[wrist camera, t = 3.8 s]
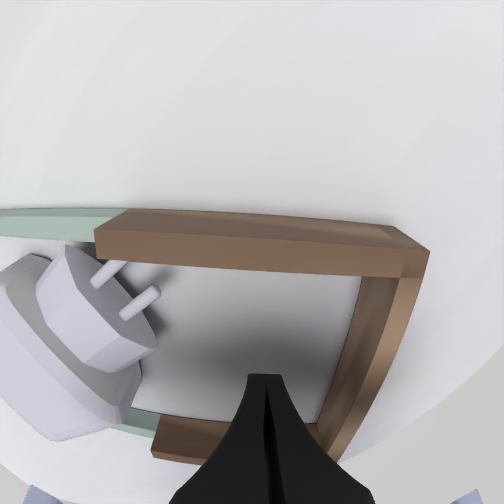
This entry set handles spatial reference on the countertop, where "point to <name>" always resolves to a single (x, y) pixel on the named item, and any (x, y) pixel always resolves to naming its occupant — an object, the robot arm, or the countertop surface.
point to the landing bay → (73, 229)
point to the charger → (71, 343)
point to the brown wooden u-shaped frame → (292, 261)
